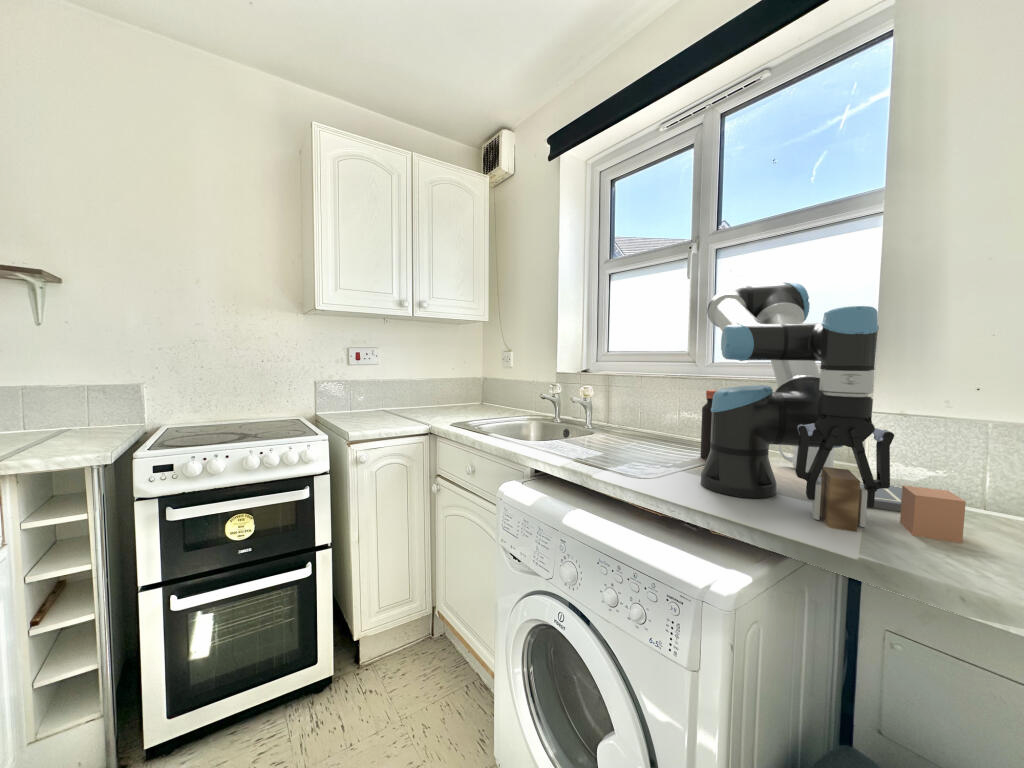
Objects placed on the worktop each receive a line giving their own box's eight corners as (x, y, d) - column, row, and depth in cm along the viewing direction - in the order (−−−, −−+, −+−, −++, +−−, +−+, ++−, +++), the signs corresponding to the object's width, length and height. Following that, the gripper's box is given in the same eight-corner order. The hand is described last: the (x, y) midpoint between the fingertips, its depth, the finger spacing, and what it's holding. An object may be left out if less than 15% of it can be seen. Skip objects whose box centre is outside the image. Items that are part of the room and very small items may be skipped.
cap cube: (912, 535, 69) (915, 495, 69) (899, 522, 74) (902, 485, 74) (962, 543, 66) (965, 501, 66) (945, 529, 71) (948, 490, 71)
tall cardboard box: (827, 527, 72) (830, 477, 71) (819, 512, 79) (822, 466, 78) (856, 532, 70) (860, 481, 70) (845, 516, 77) (848, 469, 77)
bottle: (727, 462, 116) (730, 392, 114) (700, 459, 118) (703, 391, 117) (724, 456, 122) (727, 390, 121) (699, 454, 125) (702, 389, 123)
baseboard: (824, 500, 85) (824, 493, 85) (812, 482, 97) (813, 476, 97) (943, 517, 77) (943, 509, 77) (914, 495, 89) (914, 488, 89)
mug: (782, 462, 116) (784, 425, 115) (835, 470, 108) (837, 430, 107) (774, 468, 110) (776, 428, 109) (829, 477, 102) (832, 435, 101)
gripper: (784, 393, 74) (778, 517, 76) (925, 399, 65) (914, 539, 67) (780, 390, 81) (774, 504, 82) (907, 395, 72) (898, 523, 73)
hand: (837, 520), depth 75 cm, fingers open, 6 cm apart
